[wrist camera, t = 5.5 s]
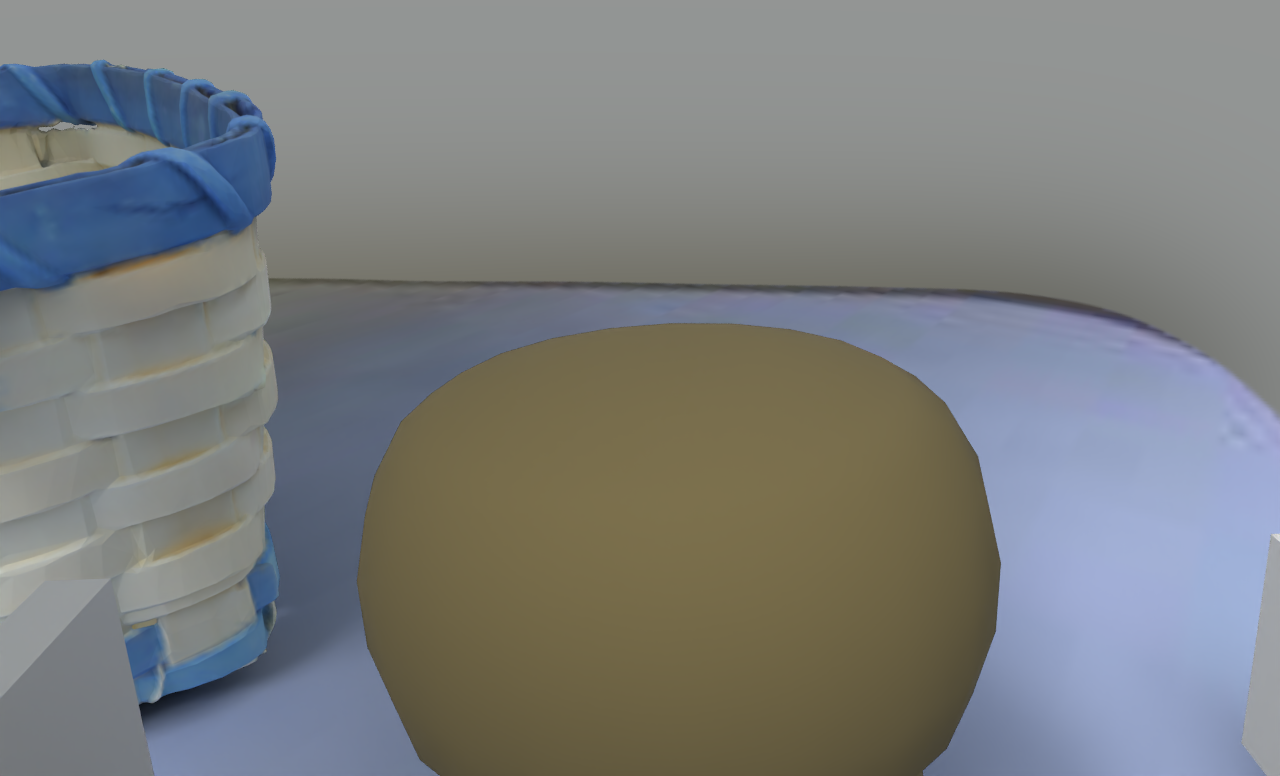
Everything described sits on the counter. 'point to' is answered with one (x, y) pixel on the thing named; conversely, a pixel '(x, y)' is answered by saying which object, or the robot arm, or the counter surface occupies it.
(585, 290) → the counter surface
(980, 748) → the counter surface
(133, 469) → the basket
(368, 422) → the counter surface
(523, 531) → the cork
